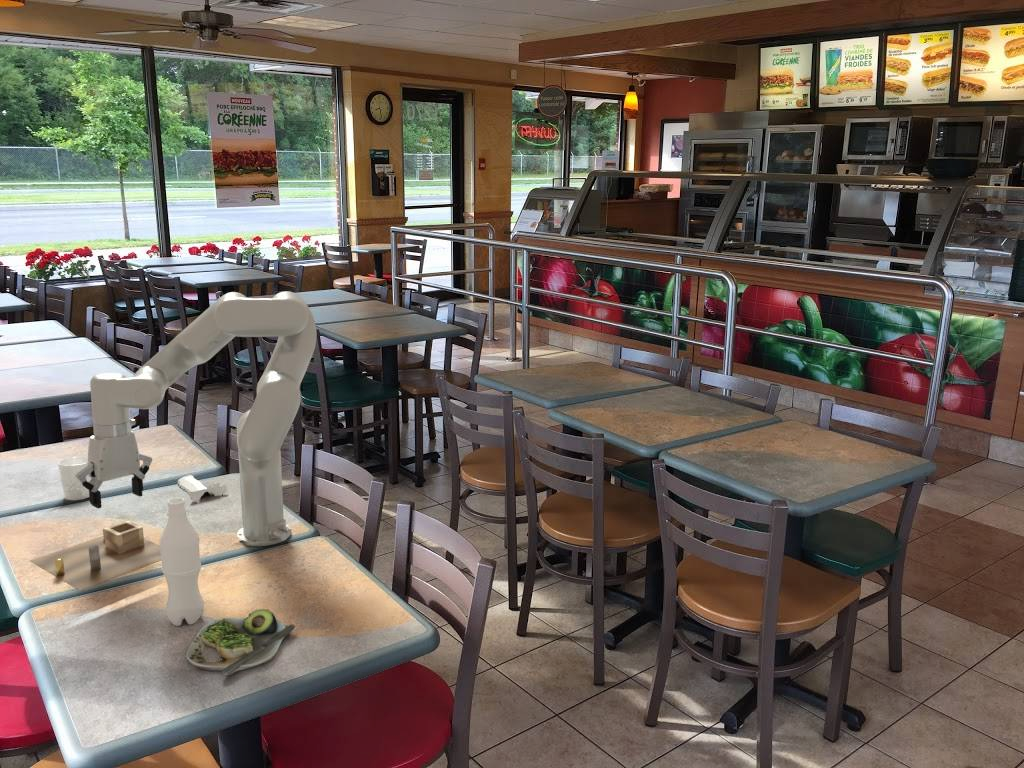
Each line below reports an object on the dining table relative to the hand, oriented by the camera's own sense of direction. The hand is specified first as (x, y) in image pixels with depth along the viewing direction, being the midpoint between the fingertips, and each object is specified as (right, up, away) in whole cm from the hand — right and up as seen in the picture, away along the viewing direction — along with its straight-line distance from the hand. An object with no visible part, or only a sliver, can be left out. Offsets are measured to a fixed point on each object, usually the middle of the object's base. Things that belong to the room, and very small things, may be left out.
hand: (117, 500), depth 190 cm
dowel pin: (-7, -14, -11) cm, 19 cm away
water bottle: (+26, -20, -26) cm, 41 cm away
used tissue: (+5, -3, +40) cm, 41 cm away
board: (-2, -13, -3) cm, 14 cm away
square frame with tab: (-1, -10, +4) cm, 11 cm away
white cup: (-27, -4, +35) cm, 44 cm away
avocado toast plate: (+39, -23, -34) cm, 56 cm away
